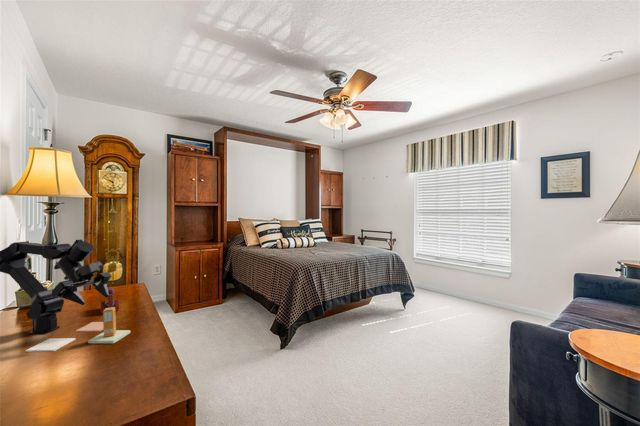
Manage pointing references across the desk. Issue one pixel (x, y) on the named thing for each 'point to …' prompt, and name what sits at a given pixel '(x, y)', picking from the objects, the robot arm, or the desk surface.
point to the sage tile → (111, 339)
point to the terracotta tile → (92, 327)
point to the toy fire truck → (110, 301)
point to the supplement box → (109, 322)
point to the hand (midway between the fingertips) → (96, 300)
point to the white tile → (51, 344)
